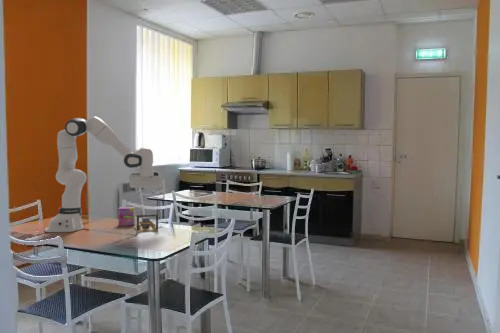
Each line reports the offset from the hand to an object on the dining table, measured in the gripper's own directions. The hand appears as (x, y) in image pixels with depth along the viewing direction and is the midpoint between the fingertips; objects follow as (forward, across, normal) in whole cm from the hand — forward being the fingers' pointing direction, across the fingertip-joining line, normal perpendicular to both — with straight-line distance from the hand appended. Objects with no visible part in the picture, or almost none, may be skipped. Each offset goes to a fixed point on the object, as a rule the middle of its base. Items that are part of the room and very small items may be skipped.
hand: (145, 194), depth 282 cm
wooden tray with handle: (+23, 0, 0) cm, 23 cm away
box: (+23, -10, +20) cm, 32 cm away
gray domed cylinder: (+22, 0, 0) cm, 22 cm away
